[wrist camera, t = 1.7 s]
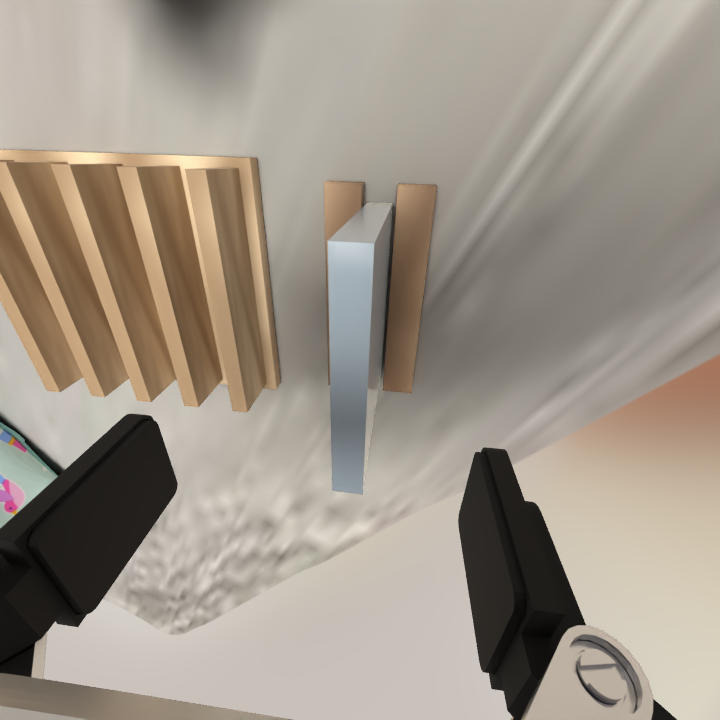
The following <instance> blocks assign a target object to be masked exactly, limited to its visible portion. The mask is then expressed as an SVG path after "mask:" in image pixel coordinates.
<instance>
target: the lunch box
mask: <svg viewBox="0 0 720 720" xmlns="http://www.w3.org/2000/svg"><path fill="white" fill-rule="evenodd" d="M57 477H58V475H57V474H55V473H54V472H53V471H52V470H51V469H50V468H49V467H48V466H47V465H46V464H45V463H44V462H43V461H42V460H41V459H40V458H39V457H38V456H37V455H36V454H35V453H34V452H33V451H32V450H31V448H30V447H29V446H28V445H27V444H26V443H25V439H24V438H22V437H21V436H20V435H19V434H18V433H16V432H15V431H13V430H12V429H10V428H9V427H7V426H6V425H4V424H3V423H1V422H0V528H1V527H2V526H4V525H5V524H6V523H7V522H8V521H9V520H10V519H11V518H12V517H13V516H15V515H16V514H17V513H18V512H19V511H20V510H21V509H22V508H23V507H25V506H26V505H27V504H28V503H29V502H30V501H31V500H32V499H33V498H35V497H36V496H37V495H38V494H39V493H40V492H41V491H42V490H43V489H44V488H46V487H47V486H48V485H49V484H50V483H51V482H52V481H53V480H54V479H56V478H57Z"/></svg>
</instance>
